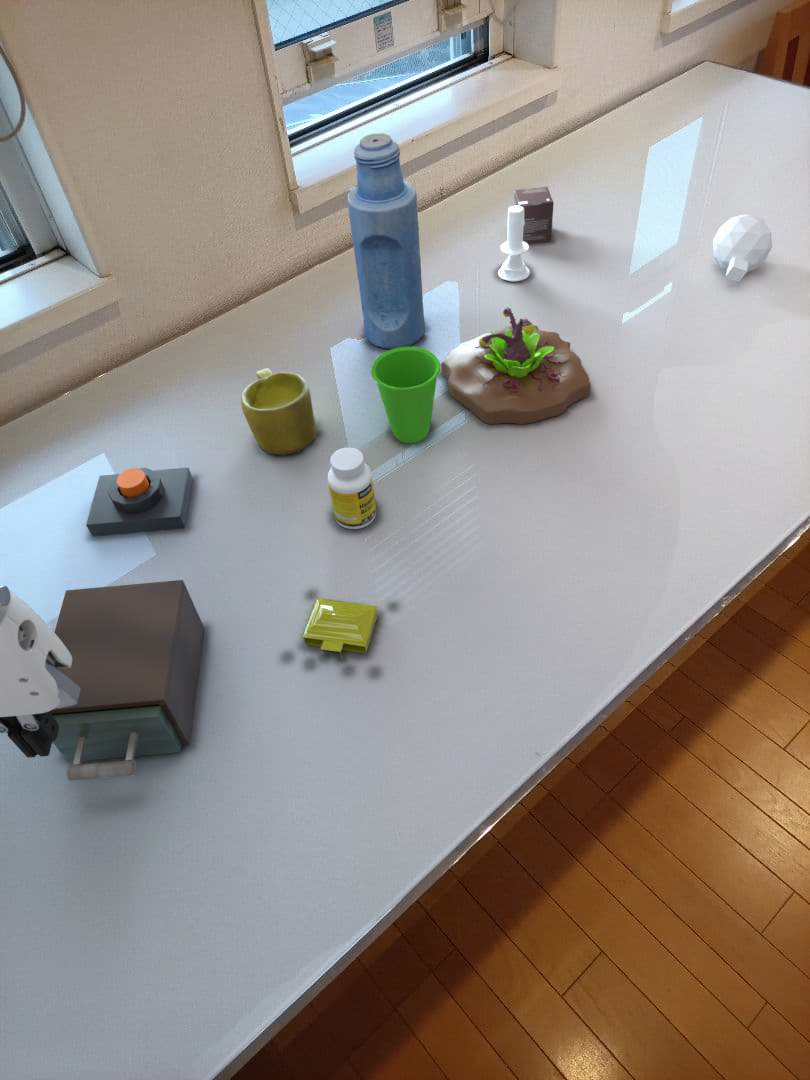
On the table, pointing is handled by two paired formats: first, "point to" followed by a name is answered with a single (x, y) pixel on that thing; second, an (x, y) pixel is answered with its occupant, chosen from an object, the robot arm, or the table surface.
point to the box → (536, 213)
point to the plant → (515, 374)
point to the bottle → (386, 245)
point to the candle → (514, 247)
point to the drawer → (113, 739)
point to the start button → (132, 482)
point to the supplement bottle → (351, 489)
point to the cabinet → (134, 649)
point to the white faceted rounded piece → (742, 245)
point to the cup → (407, 390)
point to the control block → (141, 504)
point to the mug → (279, 412)
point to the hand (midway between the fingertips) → (43, 740)
